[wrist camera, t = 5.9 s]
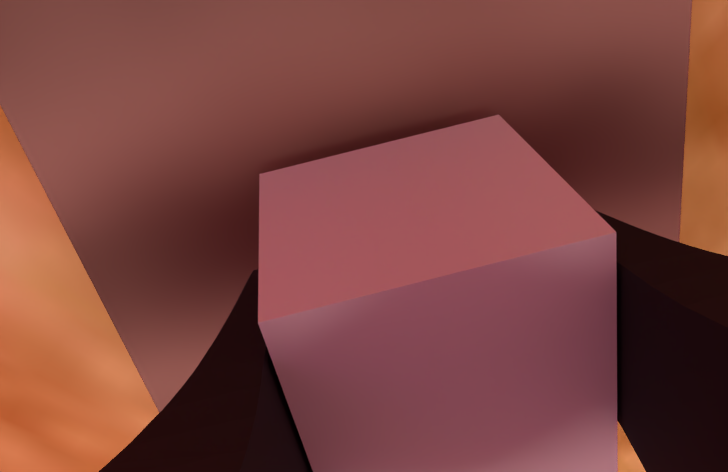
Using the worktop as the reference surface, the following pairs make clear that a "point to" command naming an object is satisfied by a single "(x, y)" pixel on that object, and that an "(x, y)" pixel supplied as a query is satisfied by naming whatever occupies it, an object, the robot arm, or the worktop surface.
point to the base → (312, 123)
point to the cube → (441, 307)
